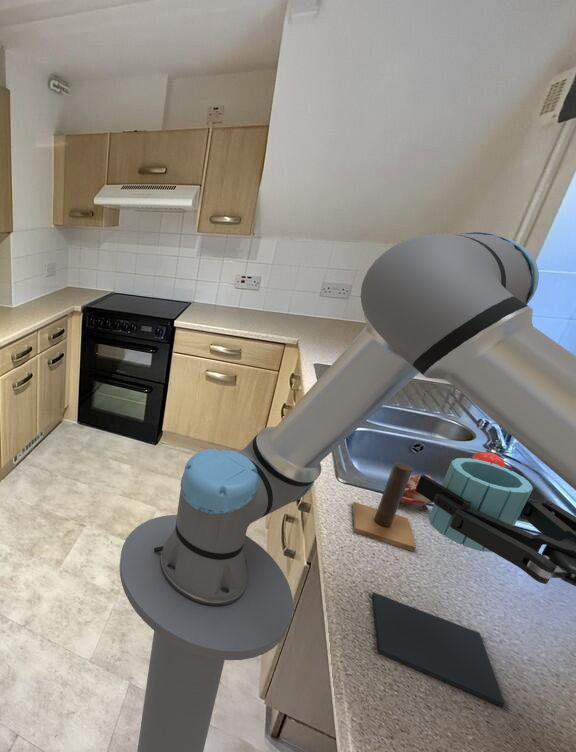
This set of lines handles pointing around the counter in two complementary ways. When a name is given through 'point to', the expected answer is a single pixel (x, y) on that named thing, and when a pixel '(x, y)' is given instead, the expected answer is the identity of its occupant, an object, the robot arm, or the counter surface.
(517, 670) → the counter surface
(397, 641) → the mat
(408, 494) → the flower
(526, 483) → the planter pot
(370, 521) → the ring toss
